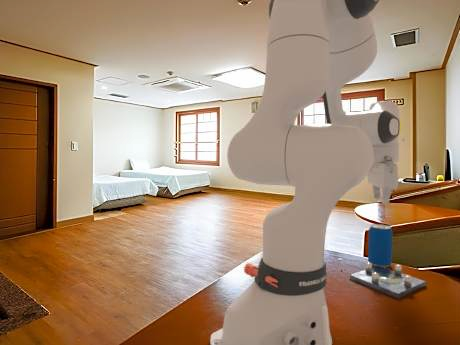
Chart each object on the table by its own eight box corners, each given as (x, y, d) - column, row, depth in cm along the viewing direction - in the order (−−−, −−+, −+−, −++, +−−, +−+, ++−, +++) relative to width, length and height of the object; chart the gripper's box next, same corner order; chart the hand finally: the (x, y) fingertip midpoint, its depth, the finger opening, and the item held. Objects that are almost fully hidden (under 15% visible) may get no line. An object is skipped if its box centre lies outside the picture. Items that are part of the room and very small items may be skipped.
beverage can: (393, 264, 92) (394, 226, 92) (388, 270, 87) (389, 230, 87) (371, 259, 97) (372, 222, 96) (365, 264, 92) (366, 226, 91)
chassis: (397, 298, 70) (398, 283, 70) (349, 279, 81) (350, 266, 81) (425, 285, 77) (426, 272, 77) (377, 269, 88) (378, 257, 88)
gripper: (405, 156, 80) (403, 207, 81) (384, 155, 99) (383, 196, 100) (379, 156, 81) (378, 206, 82) (364, 155, 101) (363, 196, 102)
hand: (380, 201), depth 91 cm, fingers open, 8 cm apart
